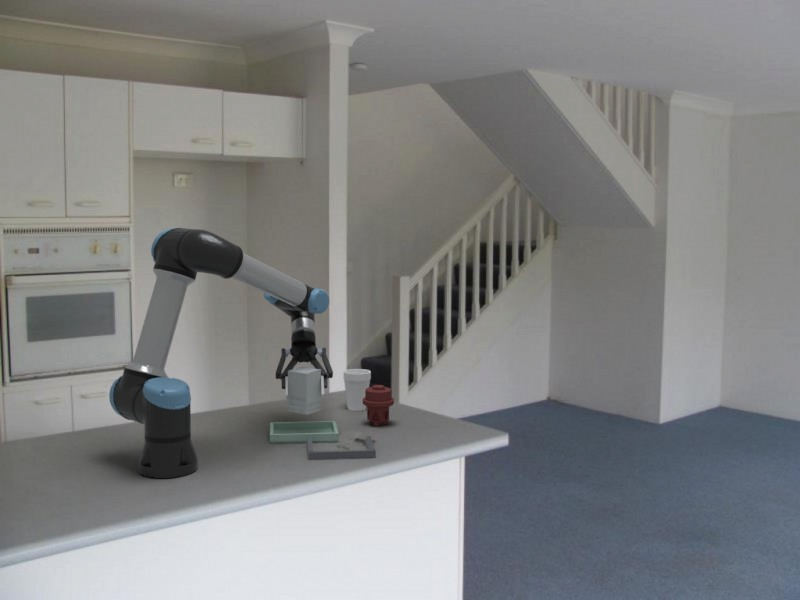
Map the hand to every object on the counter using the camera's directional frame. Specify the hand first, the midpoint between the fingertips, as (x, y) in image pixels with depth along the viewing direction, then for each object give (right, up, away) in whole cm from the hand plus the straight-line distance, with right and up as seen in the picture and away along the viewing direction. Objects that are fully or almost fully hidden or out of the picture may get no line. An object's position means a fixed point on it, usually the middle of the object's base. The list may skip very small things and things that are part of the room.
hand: (304, 397), depth 245 cm
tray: (-1, -12, +4) cm, 13 cm away
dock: (+11, -14, -10) cm, 21 cm away
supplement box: (0, -5, +4) cm, 6 cm away
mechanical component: (+21, -11, +19) cm, 31 cm away
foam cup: (+13, -9, +38) cm, 42 cm away
